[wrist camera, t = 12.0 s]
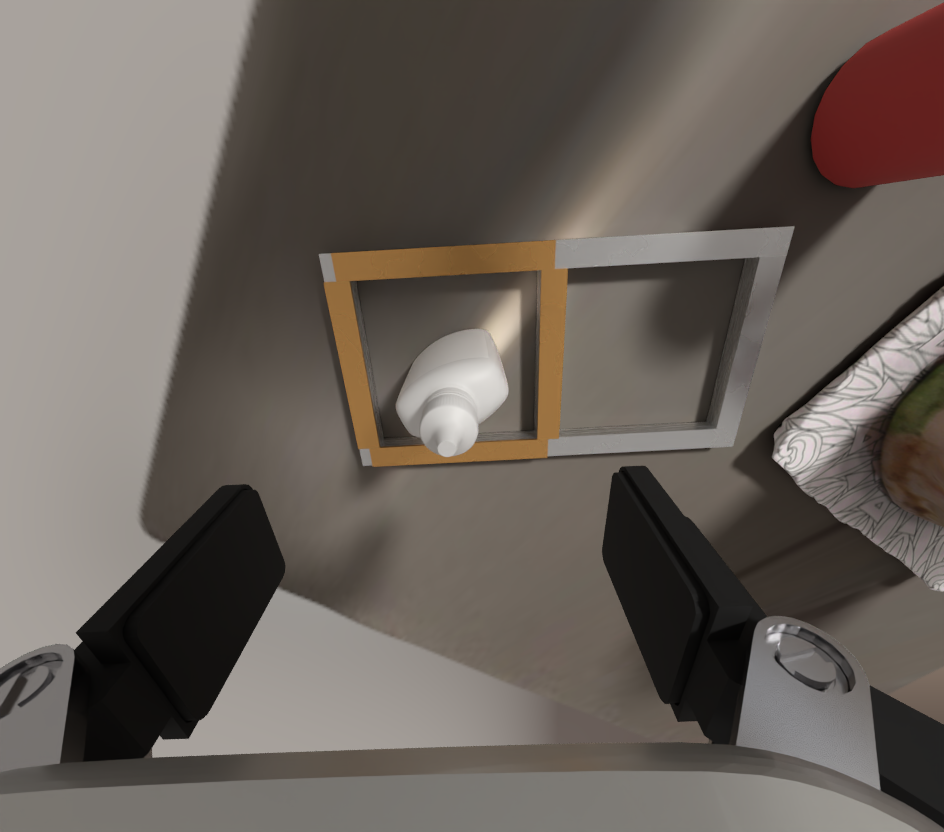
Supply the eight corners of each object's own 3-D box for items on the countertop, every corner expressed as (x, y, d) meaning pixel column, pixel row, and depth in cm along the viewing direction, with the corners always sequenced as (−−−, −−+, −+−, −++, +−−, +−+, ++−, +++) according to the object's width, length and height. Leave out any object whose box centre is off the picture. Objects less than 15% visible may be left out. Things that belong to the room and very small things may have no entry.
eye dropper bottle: (413, 322, 24) (367, 389, 13) (500, 328, 24) (530, 399, 13) (413, 386, 25) (372, 493, 14) (494, 391, 26) (514, 500, 15)
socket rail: (326, 253, 22) (317, 253, 20) (778, 227, 21) (797, 225, 20) (366, 457, 28) (362, 467, 26) (722, 438, 27) (734, 447, 26)
